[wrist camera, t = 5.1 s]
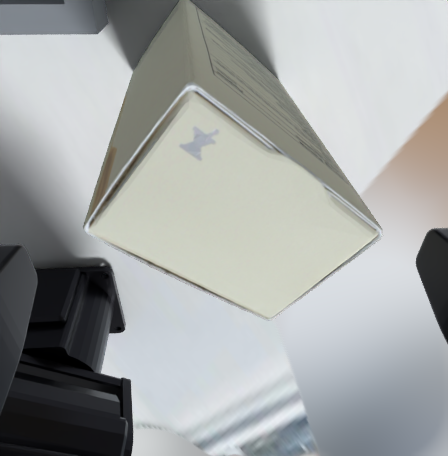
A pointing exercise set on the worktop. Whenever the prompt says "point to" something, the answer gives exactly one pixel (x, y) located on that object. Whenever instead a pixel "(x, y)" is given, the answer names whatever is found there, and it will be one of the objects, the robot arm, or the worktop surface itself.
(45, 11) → the tray
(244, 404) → the worktop surface
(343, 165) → the worktop surface
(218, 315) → the worktop surface
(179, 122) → the skincare box
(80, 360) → the robot arm
